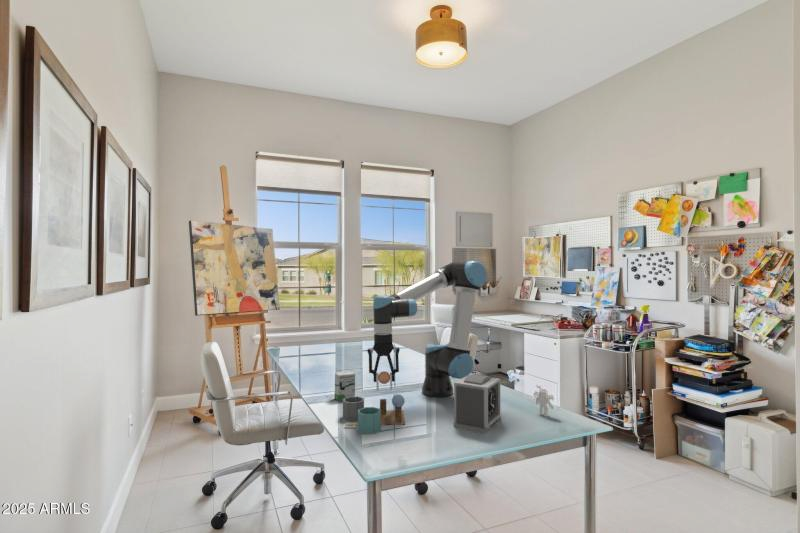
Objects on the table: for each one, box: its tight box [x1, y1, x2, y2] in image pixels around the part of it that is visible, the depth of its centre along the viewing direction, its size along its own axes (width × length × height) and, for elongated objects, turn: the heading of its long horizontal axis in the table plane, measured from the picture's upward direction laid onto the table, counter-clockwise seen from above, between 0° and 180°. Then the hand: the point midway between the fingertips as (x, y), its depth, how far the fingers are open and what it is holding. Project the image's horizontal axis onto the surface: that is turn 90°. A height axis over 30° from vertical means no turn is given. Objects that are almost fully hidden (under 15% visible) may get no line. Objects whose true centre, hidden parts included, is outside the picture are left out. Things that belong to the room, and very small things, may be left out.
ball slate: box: [391, 393, 406, 408], centre depth 167 cm, size 5×5×5 cm
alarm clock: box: [452, 373, 502, 434], centre depth 166 cm, size 18×13×18 cm
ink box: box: [334, 371, 356, 402], centre depth 198 cm, size 9×5×12 cm, turn 117°
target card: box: [343, 422, 358, 429], centre depth 163 cm, size 7×5×1 cm
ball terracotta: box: [378, 370, 390, 385], centre depth 176 cm, size 5×5×5 cm
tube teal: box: [357, 406, 382, 435], centre depth 159 cm, size 8×8×7 cm
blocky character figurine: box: [533, 384, 555, 417], centre depth 175 cm, size 9×4×12 cm, turn 37°
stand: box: [379, 398, 406, 426], centre depth 172 cm, size 11×16×6 cm
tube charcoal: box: [342, 396, 365, 422], centre depth 173 cm, size 8×8×7 cm
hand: (384, 389), depth 176 cm, fingers closed on ball terracotta, 5 cm apart
